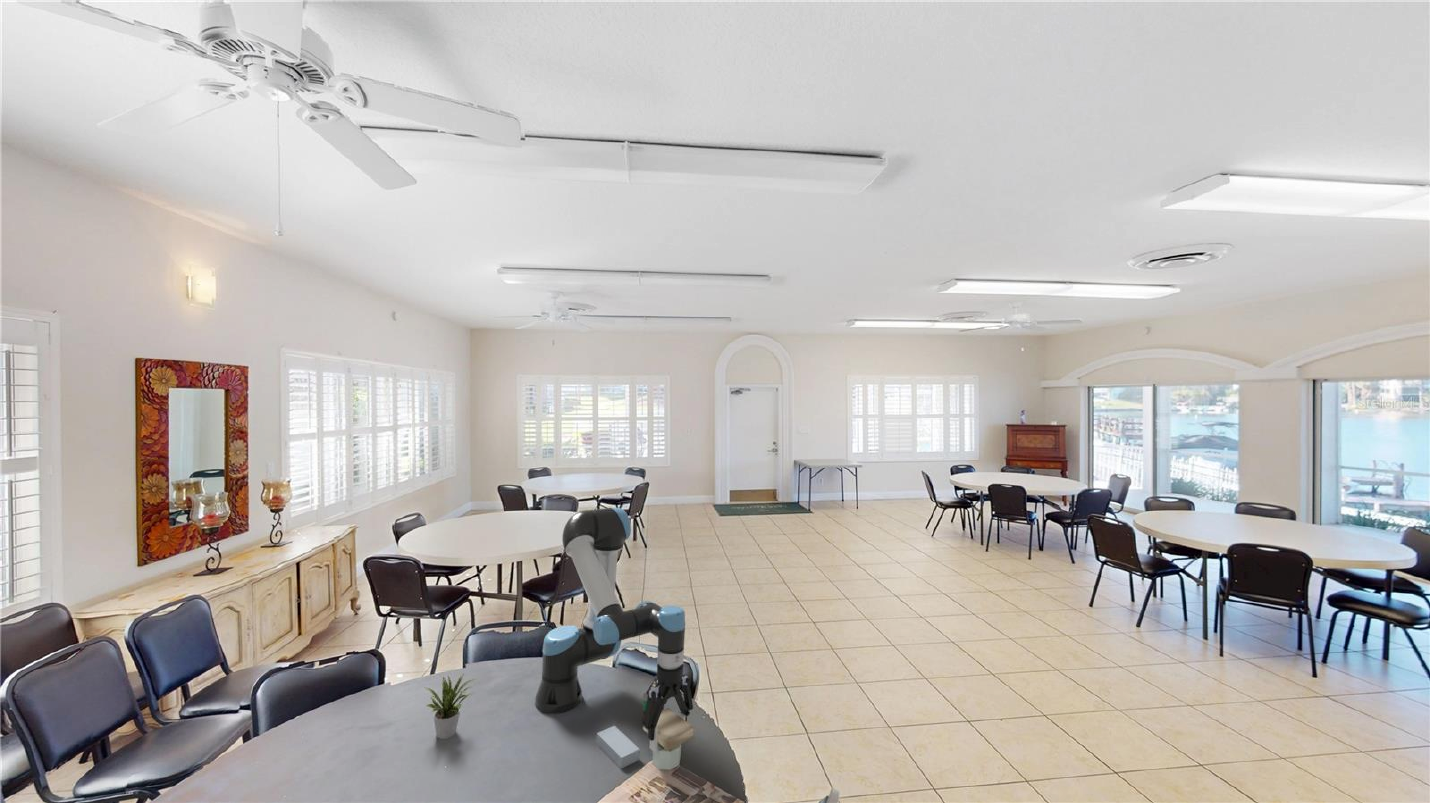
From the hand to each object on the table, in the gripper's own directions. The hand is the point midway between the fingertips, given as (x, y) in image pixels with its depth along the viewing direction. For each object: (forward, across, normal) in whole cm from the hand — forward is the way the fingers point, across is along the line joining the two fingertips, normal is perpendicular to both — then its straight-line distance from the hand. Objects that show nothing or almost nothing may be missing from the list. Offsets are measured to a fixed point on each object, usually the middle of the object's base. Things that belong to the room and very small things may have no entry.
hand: (667, 742), depth 147 cm
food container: (+5, +10, +19) cm, 22 cm away
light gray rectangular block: (+5, -9, +12) cm, 16 cm away
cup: (+5, 0, 0) cm, 5 cm away
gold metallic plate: (-3, 0, 0) cm, 3 cm away
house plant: (+5, -44, +50) cm, 67 cm away
